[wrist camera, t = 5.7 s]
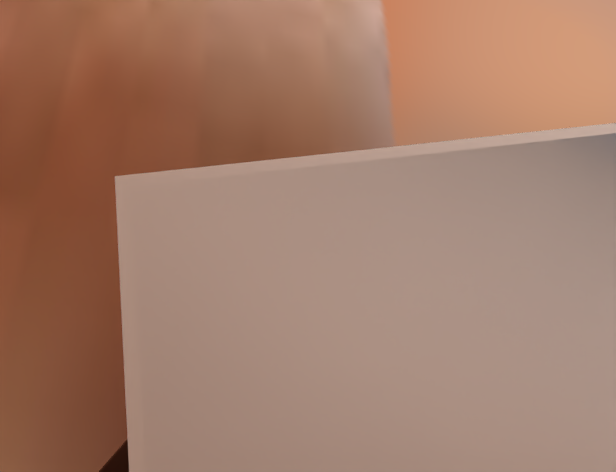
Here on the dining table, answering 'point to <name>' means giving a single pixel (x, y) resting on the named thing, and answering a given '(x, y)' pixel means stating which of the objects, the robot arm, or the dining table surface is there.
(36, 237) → the dining table surface
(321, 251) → the tin
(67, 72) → the dining table surface
